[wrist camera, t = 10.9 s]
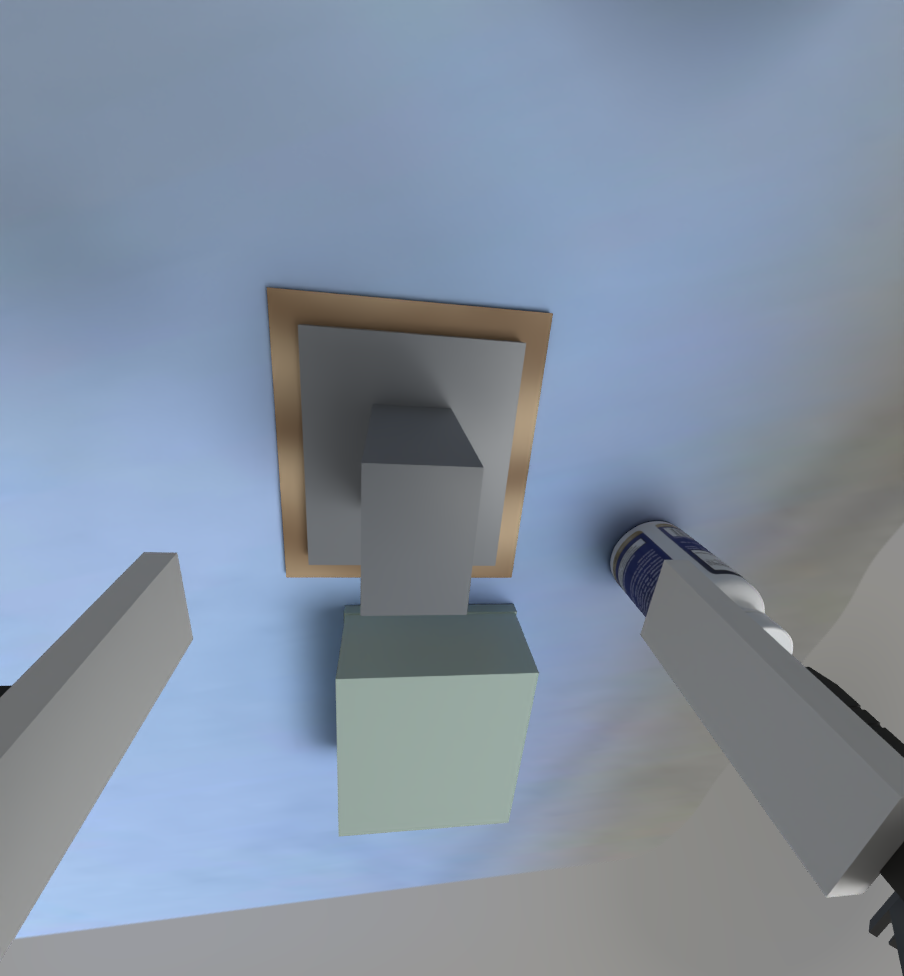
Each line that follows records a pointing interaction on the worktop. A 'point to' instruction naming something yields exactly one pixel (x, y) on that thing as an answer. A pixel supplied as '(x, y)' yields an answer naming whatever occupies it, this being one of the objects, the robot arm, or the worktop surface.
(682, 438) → the worktop surface
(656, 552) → the pill bottle
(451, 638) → the sage green block
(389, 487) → the lid
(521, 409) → the plate
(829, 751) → the robot arm
